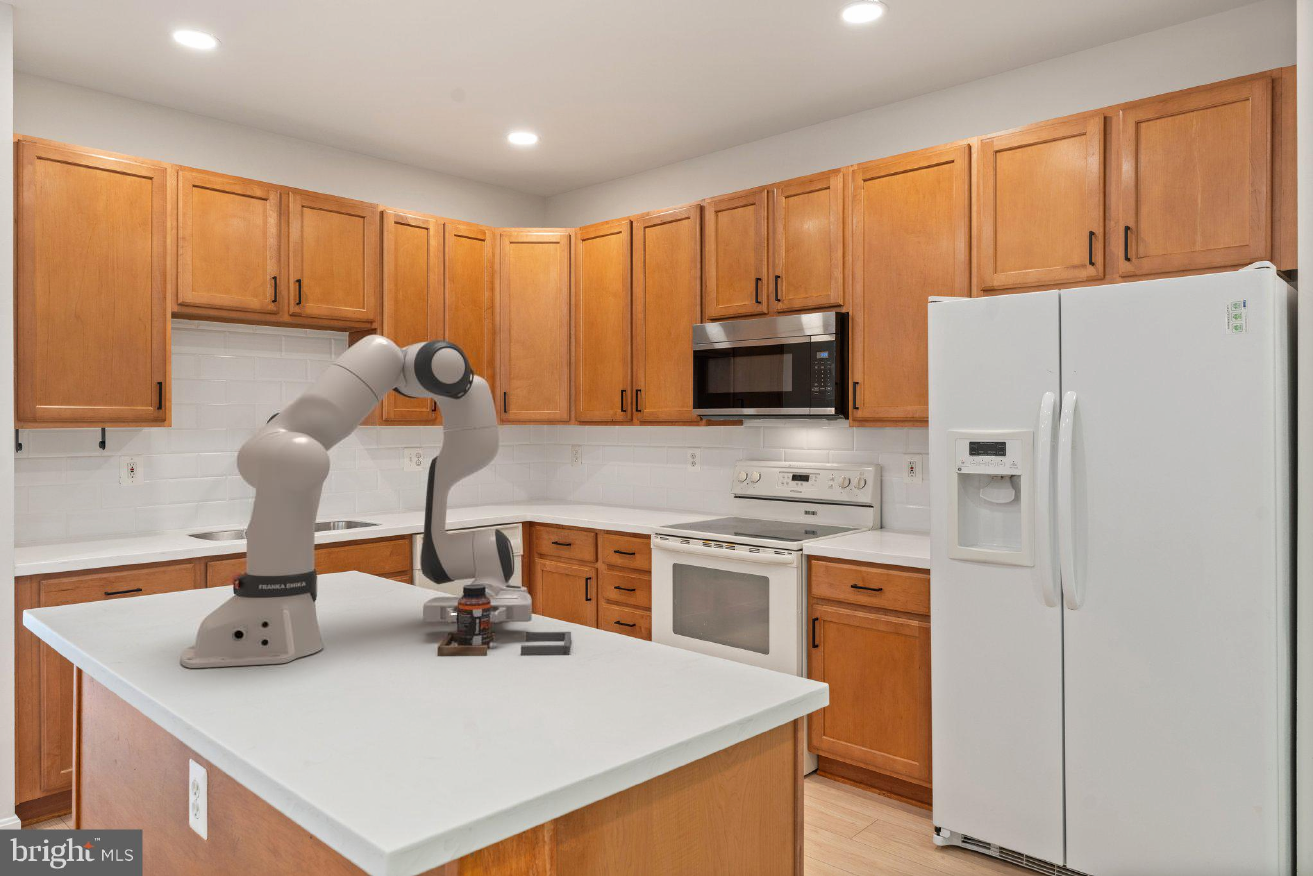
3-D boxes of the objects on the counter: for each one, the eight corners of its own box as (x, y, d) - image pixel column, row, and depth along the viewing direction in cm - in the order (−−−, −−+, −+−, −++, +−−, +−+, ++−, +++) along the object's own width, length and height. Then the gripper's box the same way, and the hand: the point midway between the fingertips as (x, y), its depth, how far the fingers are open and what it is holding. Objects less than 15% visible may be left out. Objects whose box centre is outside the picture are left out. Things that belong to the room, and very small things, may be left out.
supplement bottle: (486, 652, 151) (486, 588, 151) (453, 651, 151) (453, 588, 151) (493, 643, 157) (493, 582, 157) (461, 643, 157) (462, 582, 157)
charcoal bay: (520, 655, 149) (520, 646, 149) (525, 639, 160) (526, 632, 160) (569, 654, 150) (569, 646, 150) (571, 639, 161) (571, 631, 160)
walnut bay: (437, 655, 148) (437, 647, 148) (448, 640, 159) (448, 632, 159) (486, 655, 148) (486, 646, 148) (493, 640, 159) (494, 632, 159)
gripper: (430, 587, 166) (415, 601, 152) (534, 587, 167) (529, 600, 154) (429, 619, 166) (414, 636, 152) (534, 618, 167) (529, 635, 154)
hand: (473, 618), depth 153 cm, fingers closed on supplement bottle, 6 cm apart
